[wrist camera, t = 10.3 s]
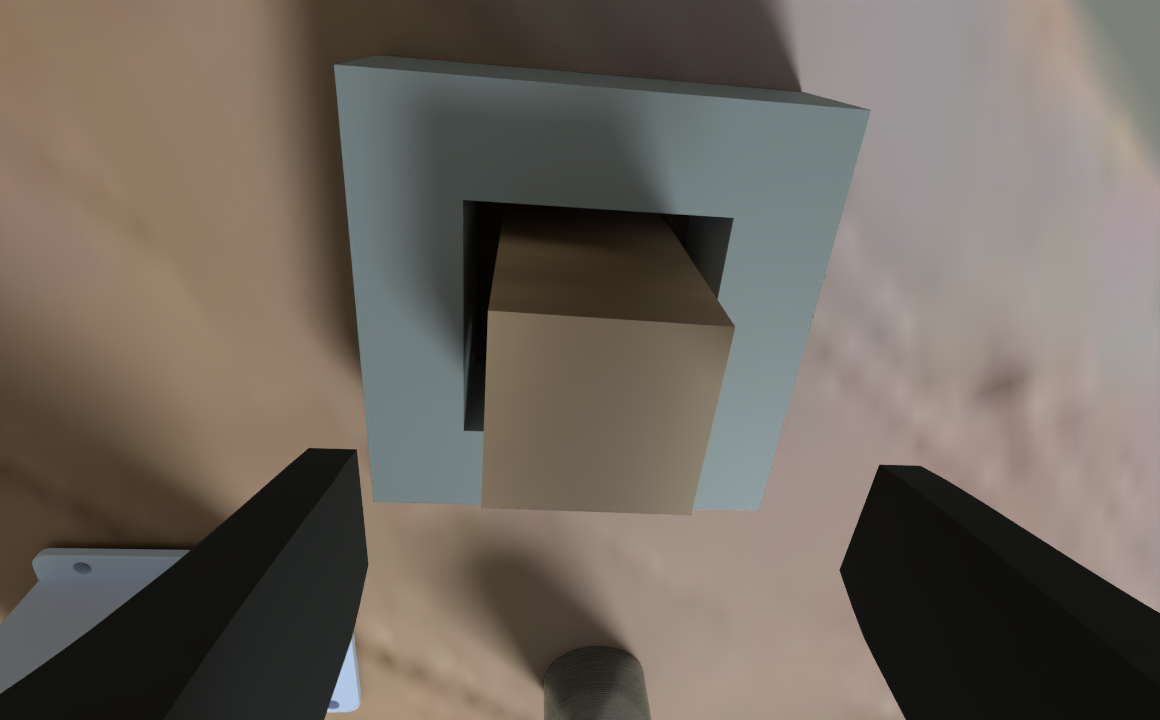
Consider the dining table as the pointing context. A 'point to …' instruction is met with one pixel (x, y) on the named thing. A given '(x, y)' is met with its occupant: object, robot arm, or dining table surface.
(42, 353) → the dining table surface
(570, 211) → the square peg
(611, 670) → the round peg
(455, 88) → the socket block
